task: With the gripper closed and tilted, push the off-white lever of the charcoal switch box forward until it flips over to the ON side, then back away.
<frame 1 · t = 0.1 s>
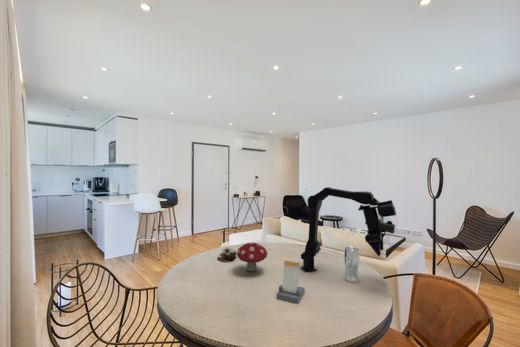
hand: (380, 252, 109), 15 cm above the table, tool pointing down, fingers open, 9 cm apart
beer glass: (351, 280, 116), on the table
decorative mushroom: (251, 271, 125), on the table
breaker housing: (289, 297, 99), on the table
skull: (227, 259, 143), on the table
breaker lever: (290, 276, 100), point 8 cm above the table, hinge at -15.0°
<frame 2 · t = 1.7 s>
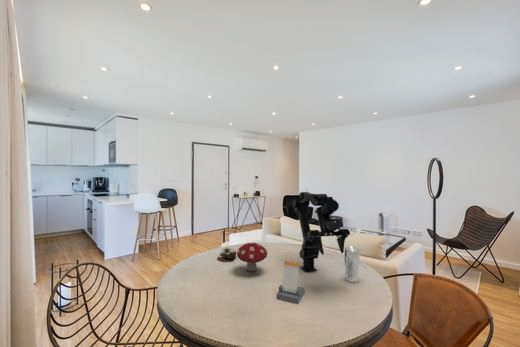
hand: (332, 253, 104), 17 cm above the table, tool tilted 30°, fingers open, 9 cm apart
nothing on the table moved.
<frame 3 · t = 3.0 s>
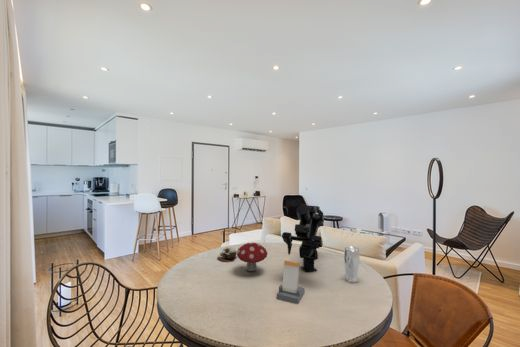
hand: (298, 255, 110), 14 cm above the table, tool tilted 45°, fingers open, 9 cm apart
nothing on the table moved.
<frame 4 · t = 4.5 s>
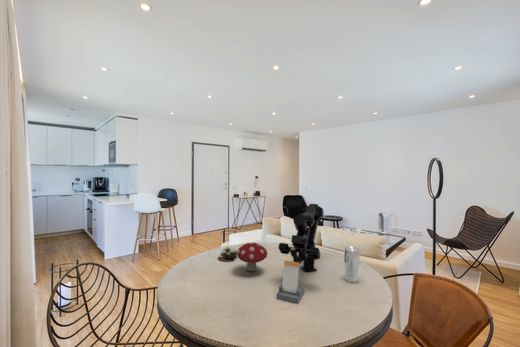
hand: (295, 268, 106), 9 cm above the table, tool tilted 45°, fingers closed
nothing on the table moved.
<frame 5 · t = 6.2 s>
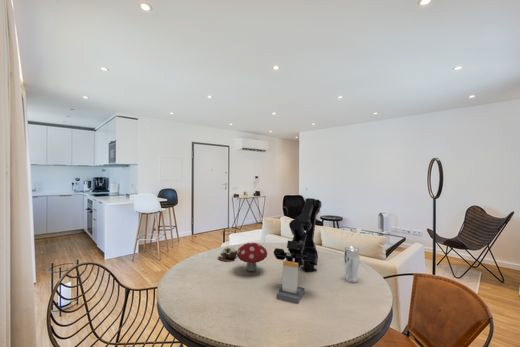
hand: (290, 275, 100), 9 cm above the table, tool tilted 45°, fingers closed, pressing on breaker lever
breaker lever: (290, 277, 99), point 8 cm above the table, hinge at -6.7°, touching gripper
everything else where it was.
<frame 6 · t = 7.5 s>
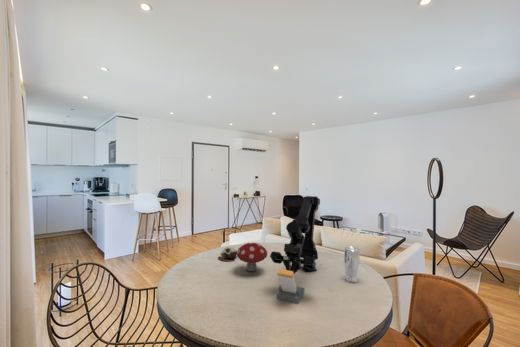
hand: (288, 280, 97), 8 cm above the table, tool tilted 45°, fingers closed, pressing on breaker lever
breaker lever: (287, 282, 96), point 8 cm above the table, hinge at 30.7°, touching gripper
everything else where it was.
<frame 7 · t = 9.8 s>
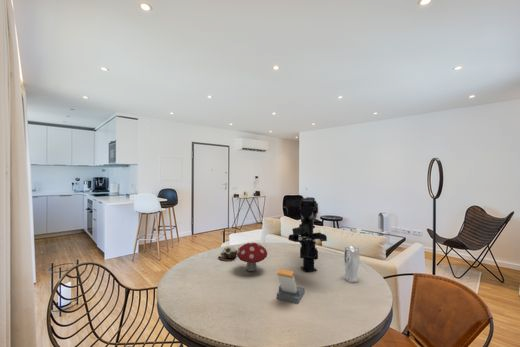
hand: (306, 256, 111), 13 cm above the table, tool tilted 25°, fingers closed
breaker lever: (287, 282, 96), point 8 cm above the table, hinge at 30.8°
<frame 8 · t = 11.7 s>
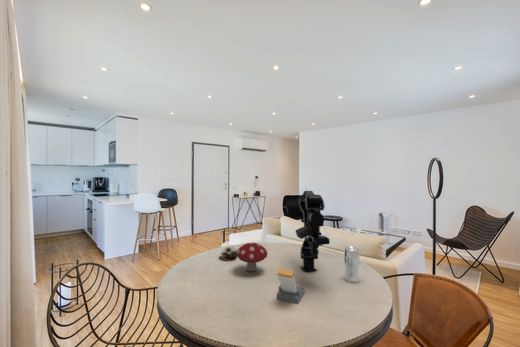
hand: (313, 254, 114), 13 cm above the table, tool pointing down, fingers closed
at the end: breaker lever at +31° (first picture: -15°); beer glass moved 0.2 cm from its start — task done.
